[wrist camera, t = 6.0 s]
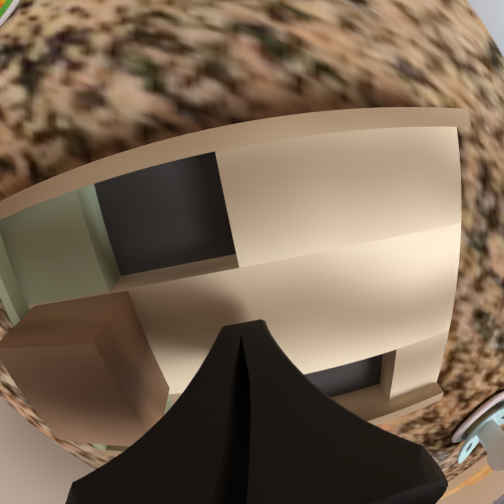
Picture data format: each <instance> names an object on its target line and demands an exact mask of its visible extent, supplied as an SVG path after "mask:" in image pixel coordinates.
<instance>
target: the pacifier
mask: <svg viewBox="0 0 504 504" xmlns="http://www.w3.org/2000/svg"><path fill="white" fill-rule="evenodd" d="M497 403H498V404H497ZM495 404H497V405H496V406H494V405H495ZM492 406H493V407H492ZM502 416H504V391H502V392H500V393H498V394H497V395H495V396H493V397H492V398H491V399H489V400H488V401H487V402H485V403H484V404H483V405H482V406H481V407H479V408H478V409H477V410H476V411H475V412H474V413H473V414H471V415H470V416H469V417H468V418H467V419H466V420H465V421H464V422H463V423H462V424H461V426H460V427H459V428H458V429H457V430H456V432H455V433H454V435H453V436H452V442H454V443H456V442H460V441H463V440H465V439H466V440H465V442H464V444H463V445H462V447H461V449H460V451H459V454H458V457H457V461H458V463H459V464H460V463H462V462H463V461H464V460H465V459H466V457H467V456H468V455H469V454H470V452H471V451H472V450H473V449H474V447H475V446H476V445H477V443H478V442H479V441H480V442H481V443H482V445H483V447H484V448H485V450H486V451H487V453H488V454H487V461H488V464H489V466H490V467H491V468H492V469H493V470H496V471H504V432H503V431H502V429H501V428H500V427H499V425H501V424H503V423H504V417H502ZM464 432H465V433H464ZM468 446H469V447H468Z"/></svg>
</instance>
